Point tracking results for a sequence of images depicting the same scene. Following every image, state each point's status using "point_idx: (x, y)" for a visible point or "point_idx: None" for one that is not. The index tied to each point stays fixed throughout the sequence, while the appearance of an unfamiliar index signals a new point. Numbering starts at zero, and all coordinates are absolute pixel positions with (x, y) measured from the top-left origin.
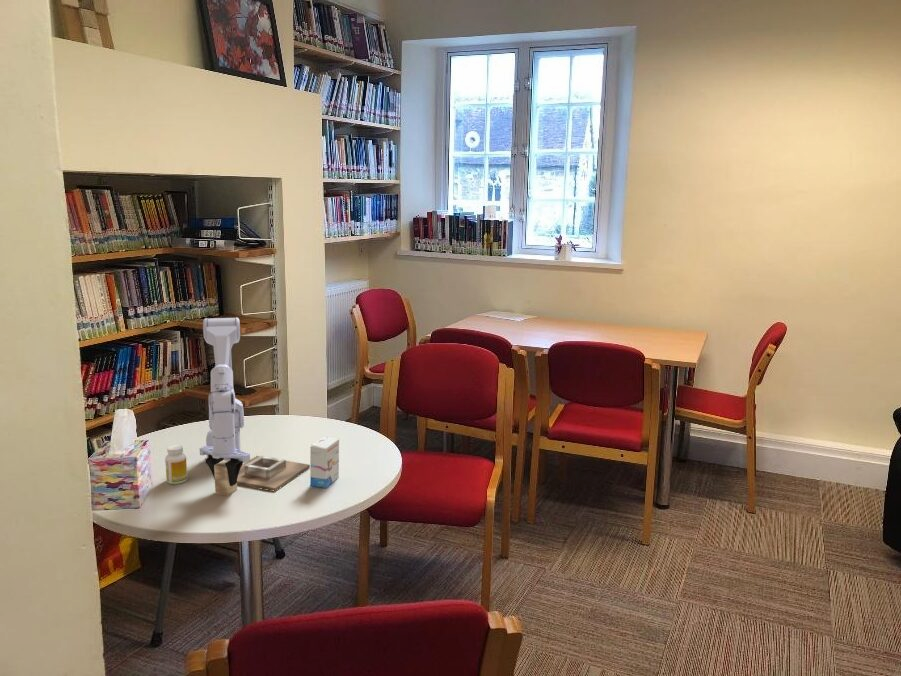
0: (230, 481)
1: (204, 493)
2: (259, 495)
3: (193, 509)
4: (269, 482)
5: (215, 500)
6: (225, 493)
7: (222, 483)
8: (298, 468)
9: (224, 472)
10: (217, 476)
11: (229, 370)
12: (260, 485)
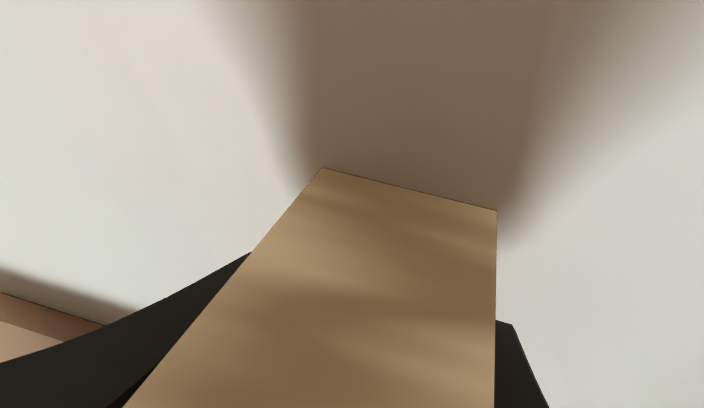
0: (220, 278)
1: (647, 197)
2: (56, 214)
3: None
4: None
5: (408, 16)
6: (347, 184)
7: (352, 258)
8: None
9: (220, 384)
10: (424, 352)
11: None
12: None
